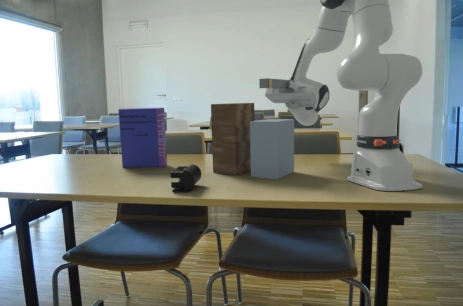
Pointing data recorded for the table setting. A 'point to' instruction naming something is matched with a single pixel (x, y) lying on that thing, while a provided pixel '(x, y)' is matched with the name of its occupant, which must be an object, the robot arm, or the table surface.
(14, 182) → the table surface
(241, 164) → the tall walnut stand
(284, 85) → the grey yellow-banded bar
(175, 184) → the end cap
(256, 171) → the blue-grey rectangular block
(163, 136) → the blue book
